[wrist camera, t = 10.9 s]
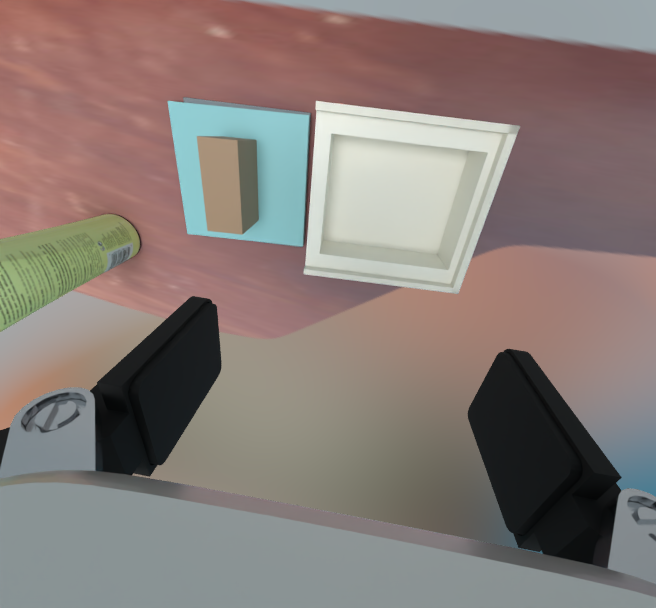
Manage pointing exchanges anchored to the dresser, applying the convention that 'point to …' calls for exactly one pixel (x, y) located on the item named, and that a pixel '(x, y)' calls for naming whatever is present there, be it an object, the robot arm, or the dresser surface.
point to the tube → (59, 262)
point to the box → (400, 194)
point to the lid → (242, 171)
